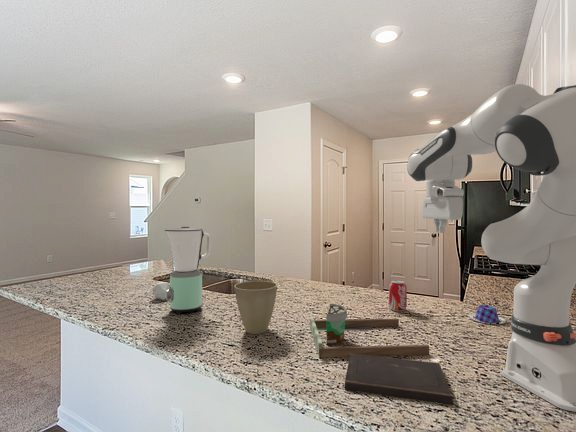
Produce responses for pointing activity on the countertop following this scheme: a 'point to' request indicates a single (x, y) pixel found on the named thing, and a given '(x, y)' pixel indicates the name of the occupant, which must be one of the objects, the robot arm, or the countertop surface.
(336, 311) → the food container
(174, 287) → the green blender
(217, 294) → the countertop surface
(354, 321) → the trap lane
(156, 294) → the grey rock
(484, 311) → the blue plaid hat
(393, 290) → the soda can
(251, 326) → the plant pot
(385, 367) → the hardcover book
